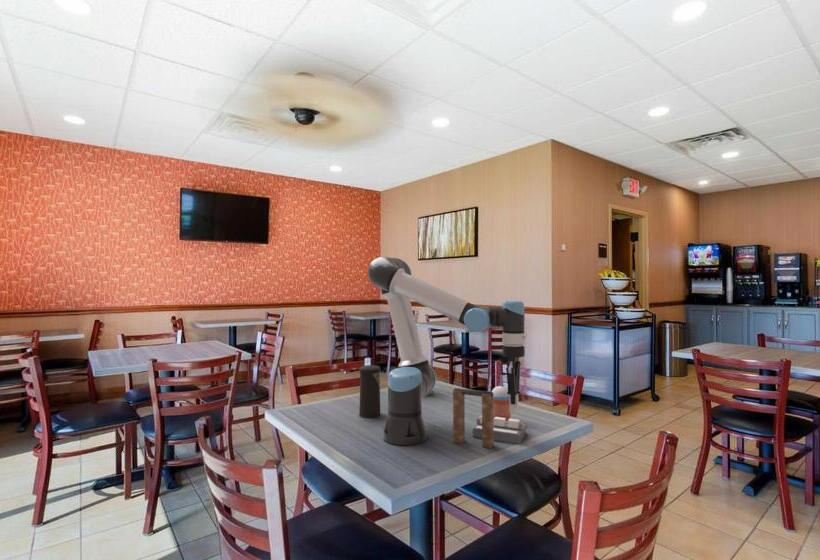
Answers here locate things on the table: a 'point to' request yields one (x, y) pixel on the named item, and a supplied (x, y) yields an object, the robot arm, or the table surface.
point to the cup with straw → (501, 401)
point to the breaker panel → (503, 432)
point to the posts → (460, 419)
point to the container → (369, 391)
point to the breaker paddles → (504, 422)
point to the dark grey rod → (473, 392)
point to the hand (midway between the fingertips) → (513, 412)
